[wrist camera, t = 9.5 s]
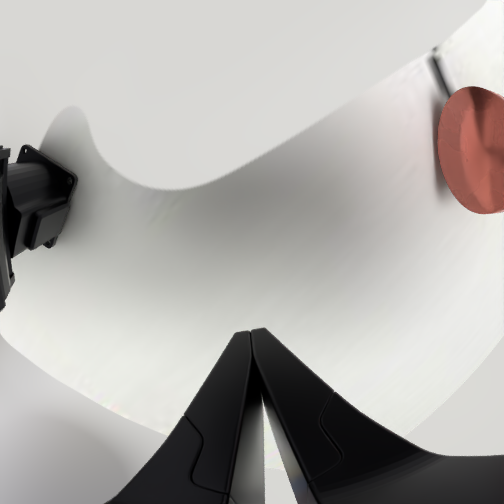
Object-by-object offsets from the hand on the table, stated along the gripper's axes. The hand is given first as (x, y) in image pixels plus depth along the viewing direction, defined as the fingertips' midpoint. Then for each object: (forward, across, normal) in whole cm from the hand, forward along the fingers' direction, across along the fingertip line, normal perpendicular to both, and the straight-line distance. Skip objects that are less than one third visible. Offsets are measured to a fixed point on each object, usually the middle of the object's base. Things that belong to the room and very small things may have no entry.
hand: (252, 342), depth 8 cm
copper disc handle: (+12, -22, -4) cm, 25 cm away
